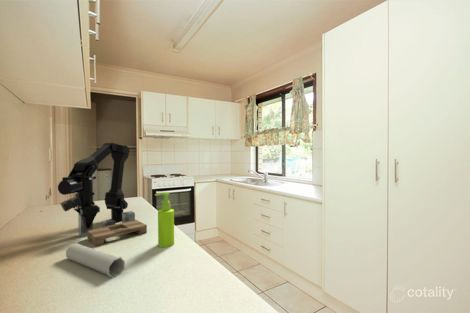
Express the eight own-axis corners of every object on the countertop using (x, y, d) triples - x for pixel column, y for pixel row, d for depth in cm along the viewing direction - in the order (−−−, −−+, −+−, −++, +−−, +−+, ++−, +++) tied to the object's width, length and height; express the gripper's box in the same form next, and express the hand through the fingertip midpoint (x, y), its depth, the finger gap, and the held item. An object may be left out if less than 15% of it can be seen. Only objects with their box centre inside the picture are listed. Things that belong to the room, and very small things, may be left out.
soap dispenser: (154, 243, 89) (154, 192, 89) (173, 240, 92) (172, 190, 91) (156, 249, 84) (155, 194, 83) (175, 245, 86) (174, 193, 86)
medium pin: (122, 225, 112) (122, 212, 112) (131, 222, 115) (131, 211, 115) (125, 227, 109) (125, 214, 109) (135, 224, 112) (134, 212, 112)
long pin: (78, 234, 99) (78, 214, 99) (90, 232, 102) (89, 212, 102) (81, 237, 96) (80, 215, 96) (93, 234, 99) (92, 213, 99)
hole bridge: (87, 239, 94) (87, 230, 94) (136, 227, 108) (136, 219, 108) (95, 246, 86) (95, 237, 86) (146, 232, 101) (146, 224, 101)
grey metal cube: (101, 229, 105) (101, 221, 105) (112, 227, 109) (111, 219, 109) (104, 232, 102) (104, 223, 102) (115, 229, 106) (115, 220, 105)
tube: (59, 249, 75) (105, 266, 63) (76, 239, 79) (121, 253, 67) (65, 262, 77) (111, 282, 64) (81, 251, 81) (127, 268, 69)
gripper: (57, 190, 99) (58, 226, 100) (66, 196, 86) (67, 236, 87) (87, 187, 107) (88, 220, 108) (99, 192, 94) (100, 229, 95)
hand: (85, 226), depth 99 cm, fingers open, 7 cm apart
